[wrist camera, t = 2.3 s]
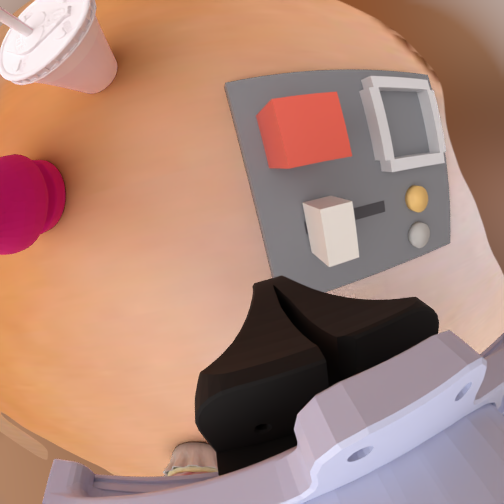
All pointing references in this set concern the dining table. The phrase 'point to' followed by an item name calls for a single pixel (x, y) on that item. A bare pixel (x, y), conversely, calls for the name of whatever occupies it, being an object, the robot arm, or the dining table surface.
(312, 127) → the cap
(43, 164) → the pepper mill
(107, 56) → the smoothie
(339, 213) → the block
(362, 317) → the robot arm
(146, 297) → the dining table surface
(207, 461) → the cupcake
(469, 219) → the dining table surface
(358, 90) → the panel
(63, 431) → the dining table surface
